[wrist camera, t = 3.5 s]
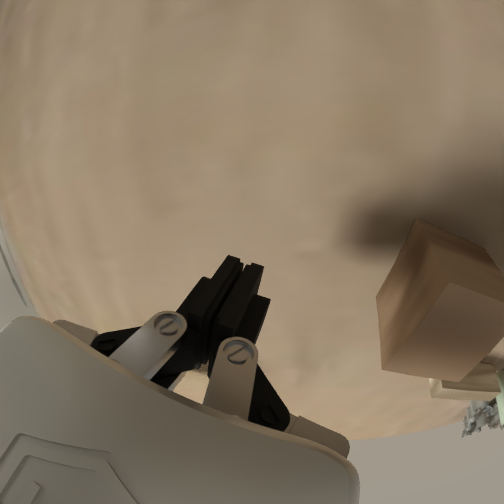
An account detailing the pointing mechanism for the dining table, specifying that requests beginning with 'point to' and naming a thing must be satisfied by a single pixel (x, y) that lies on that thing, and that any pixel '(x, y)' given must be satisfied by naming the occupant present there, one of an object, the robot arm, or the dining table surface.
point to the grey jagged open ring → (481, 416)
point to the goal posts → (501, 396)
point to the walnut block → (439, 306)
